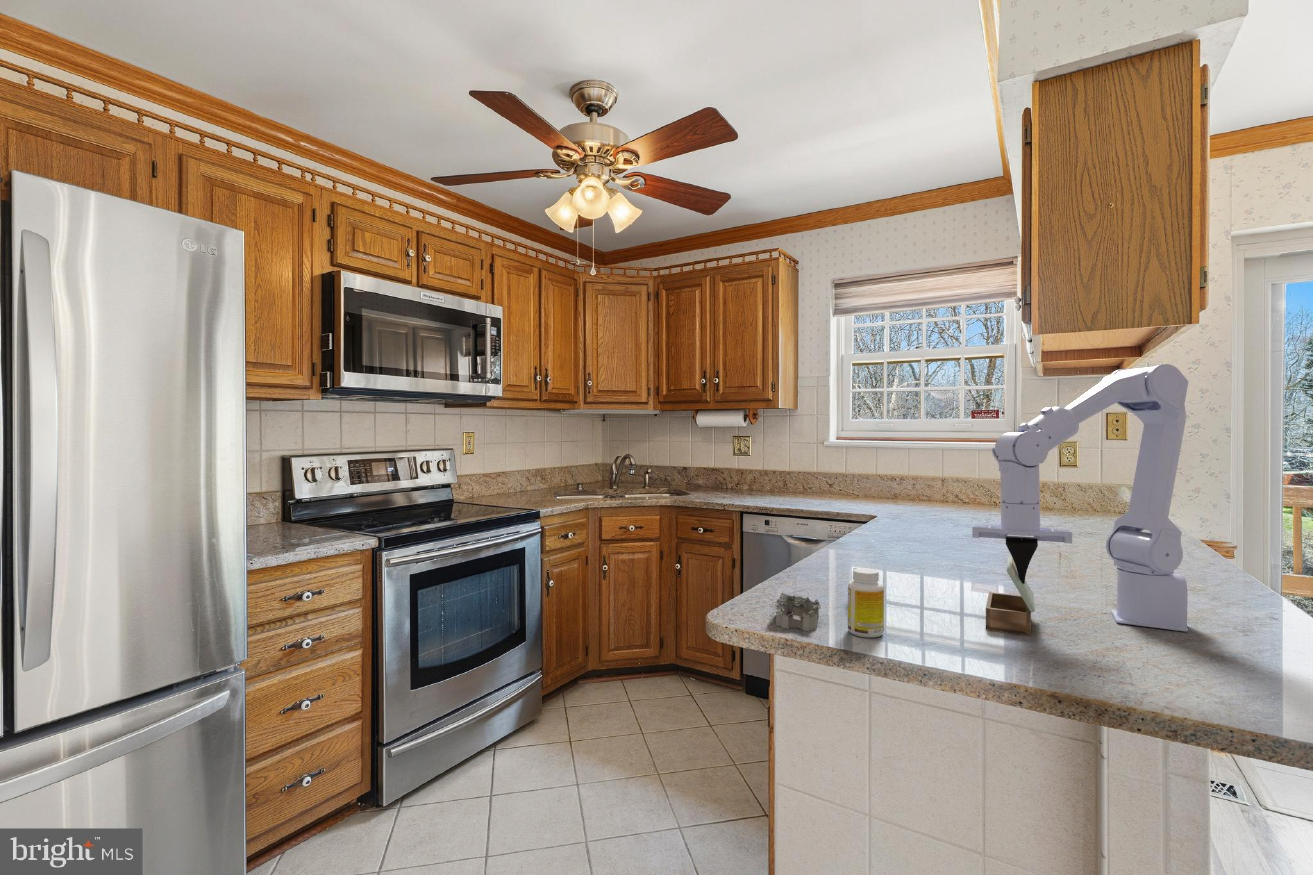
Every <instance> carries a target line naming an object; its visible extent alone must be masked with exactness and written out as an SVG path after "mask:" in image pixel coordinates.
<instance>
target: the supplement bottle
mask: <svg viewBox="0 0 1313 875" xmlns="http://www.w3.org/2000/svg"><path fill="white" fill-rule="evenodd" d="M879 581H880V576H879V571H878V570H877V569H874V568H866V567H864V568H863V567H858V568H857V569H854V570H853V569H852V580H850V581H849V582H848V584H847V629H848V631H849V633H850V634H852V635H854V636H856V637H861V638H871V639H872V638H878V637H881V636H882V635H883V634H884V630H885V624H884V622H885V619H884V616H885V614H884V611H885V608H884V606H885V604H884V602H885V600H884V599H885V597H884V596H885V594H884V592H885V588H884V585H883V583H881V582H879Z"/></svg>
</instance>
